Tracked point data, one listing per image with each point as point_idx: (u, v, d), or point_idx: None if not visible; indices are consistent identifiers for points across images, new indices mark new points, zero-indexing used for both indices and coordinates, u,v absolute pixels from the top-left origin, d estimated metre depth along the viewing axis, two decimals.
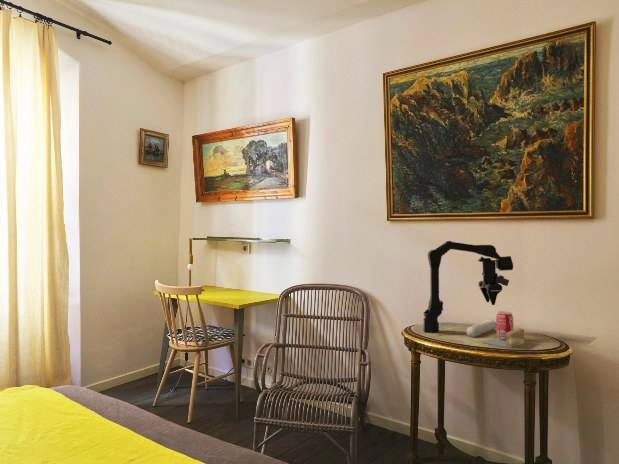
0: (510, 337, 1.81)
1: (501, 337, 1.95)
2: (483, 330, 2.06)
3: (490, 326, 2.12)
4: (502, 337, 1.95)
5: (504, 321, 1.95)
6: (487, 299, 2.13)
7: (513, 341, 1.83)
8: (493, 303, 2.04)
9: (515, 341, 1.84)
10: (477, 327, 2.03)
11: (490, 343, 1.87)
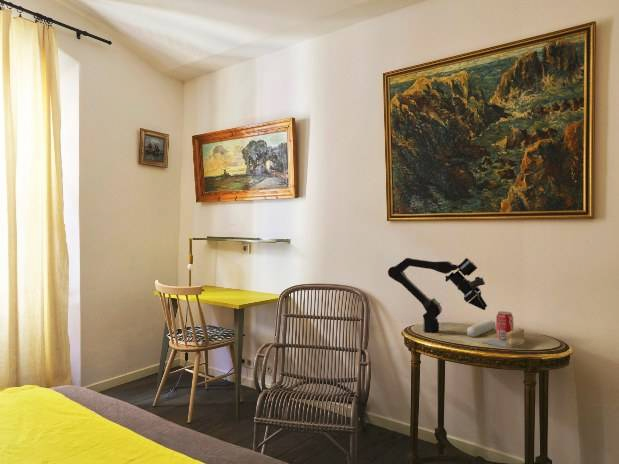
0: (510, 337, 1.81)
1: (501, 337, 1.95)
2: (483, 330, 2.06)
3: (489, 326, 2.12)
4: (502, 337, 1.95)
5: (504, 321, 1.95)
6: (483, 304, 2.06)
7: (513, 341, 1.83)
8: (483, 308, 1.97)
9: (515, 341, 1.84)
10: (477, 327, 2.03)
11: (490, 343, 1.87)
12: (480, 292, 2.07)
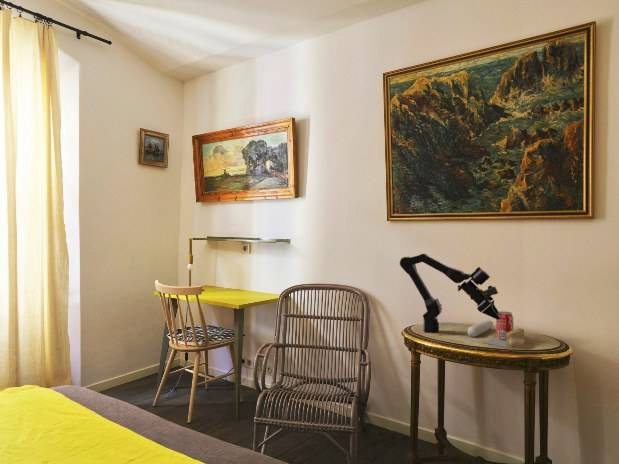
0: (510, 337, 1.81)
1: (501, 337, 1.95)
2: (482, 330, 2.06)
3: (488, 326, 2.13)
4: (502, 337, 1.95)
5: (504, 321, 1.95)
6: None
7: (513, 341, 1.83)
8: (497, 318, 1.94)
9: (515, 341, 1.84)
10: (477, 327, 2.04)
11: (490, 343, 1.87)
12: (493, 301, 2.05)
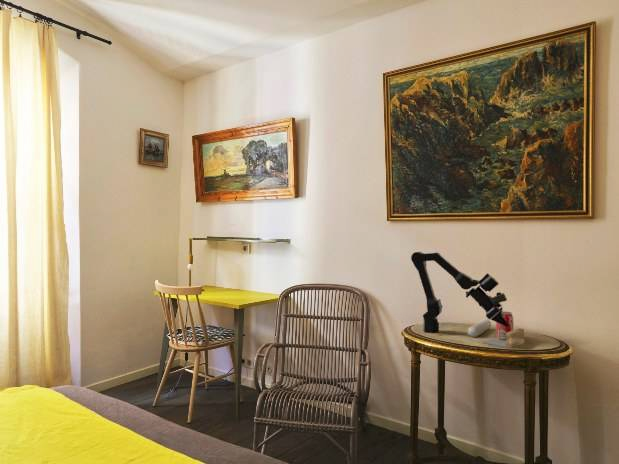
0: (510, 337, 1.81)
1: (501, 337, 1.95)
2: (482, 330, 2.07)
3: (486, 325, 2.14)
4: (502, 337, 1.95)
5: None
6: None
7: (513, 341, 1.83)
8: (506, 324, 1.94)
9: (515, 341, 1.84)
10: (477, 327, 2.04)
11: (490, 343, 1.87)
12: (501, 308, 2.02)
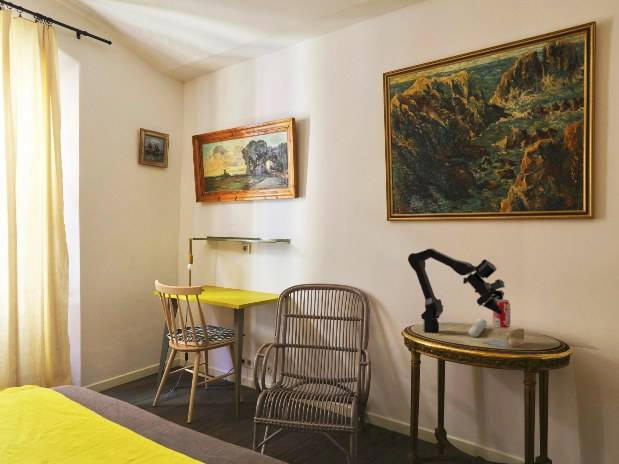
0: (510, 337, 1.81)
1: (495, 325, 1.88)
2: (481, 329, 2.07)
3: (484, 325, 2.15)
4: (496, 325, 1.88)
5: None
6: None
7: (513, 341, 1.83)
8: (500, 312, 1.86)
9: (515, 341, 1.84)
10: (478, 327, 2.04)
11: (490, 343, 1.87)
12: (501, 296, 1.94)
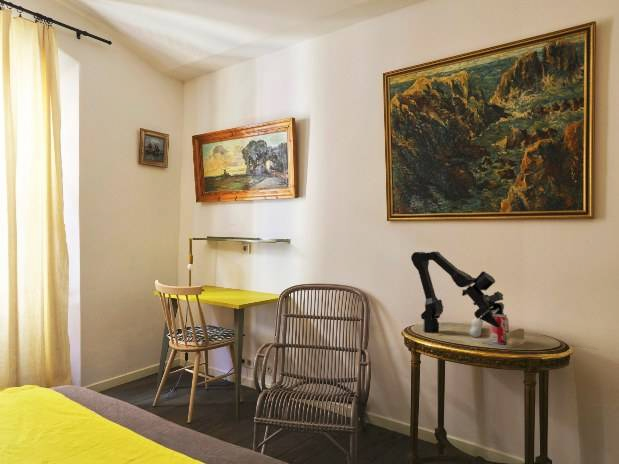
0: (510, 337, 1.81)
1: (493, 340, 1.87)
2: None
3: None
4: (494, 340, 1.86)
5: None
6: None
7: (513, 341, 1.83)
8: (497, 325, 1.84)
9: (515, 341, 1.84)
10: (478, 327, 2.04)
11: (490, 343, 1.87)
12: (501, 308, 1.93)
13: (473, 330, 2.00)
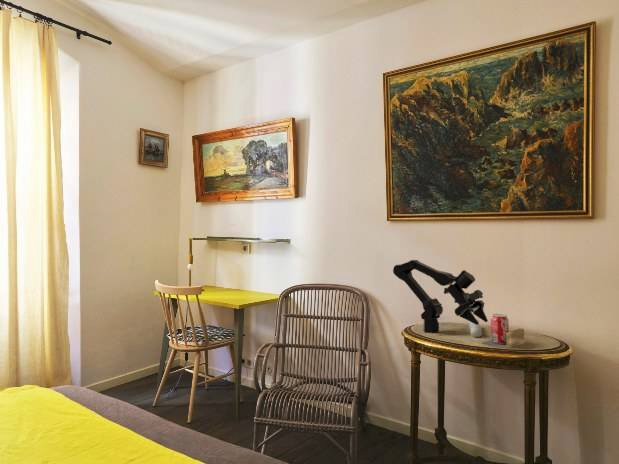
0: (510, 337, 1.81)
1: (493, 340, 1.87)
2: None
3: None
4: (494, 340, 1.86)
5: (495, 324, 1.86)
6: (484, 319, 1.98)
7: (513, 341, 1.83)
8: (476, 322, 1.91)
9: (515, 341, 1.84)
10: (478, 327, 2.04)
11: (490, 343, 1.87)
12: (481, 306, 1.99)
13: (474, 330, 2.00)
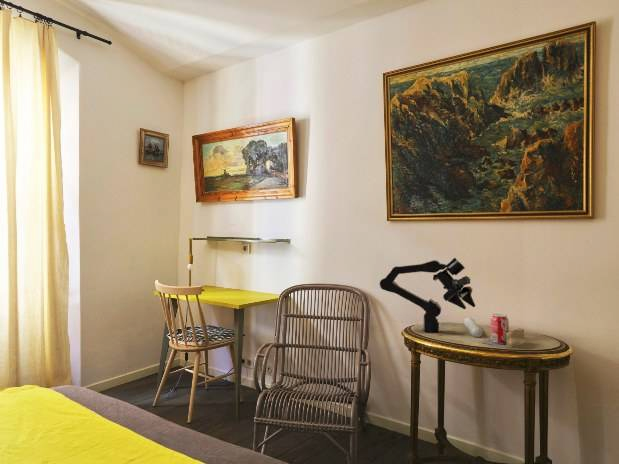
0: (510, 337, 1.81)
1: (493, 340, 1.87)
2: None
3: None
4: (494, 340, 1.86)
5: (495, 324, 1.86)
6: (472, 304, 2.05)
7: (513, 341, 1.83)
8: (463, 307, 1.98)
9: (515, 341, 1.84)
10: (479, 327, 2.04)
11: (490, 343, 1.87)
12: (469, 292, 2.06)
13: (476, 330, 2.00)
